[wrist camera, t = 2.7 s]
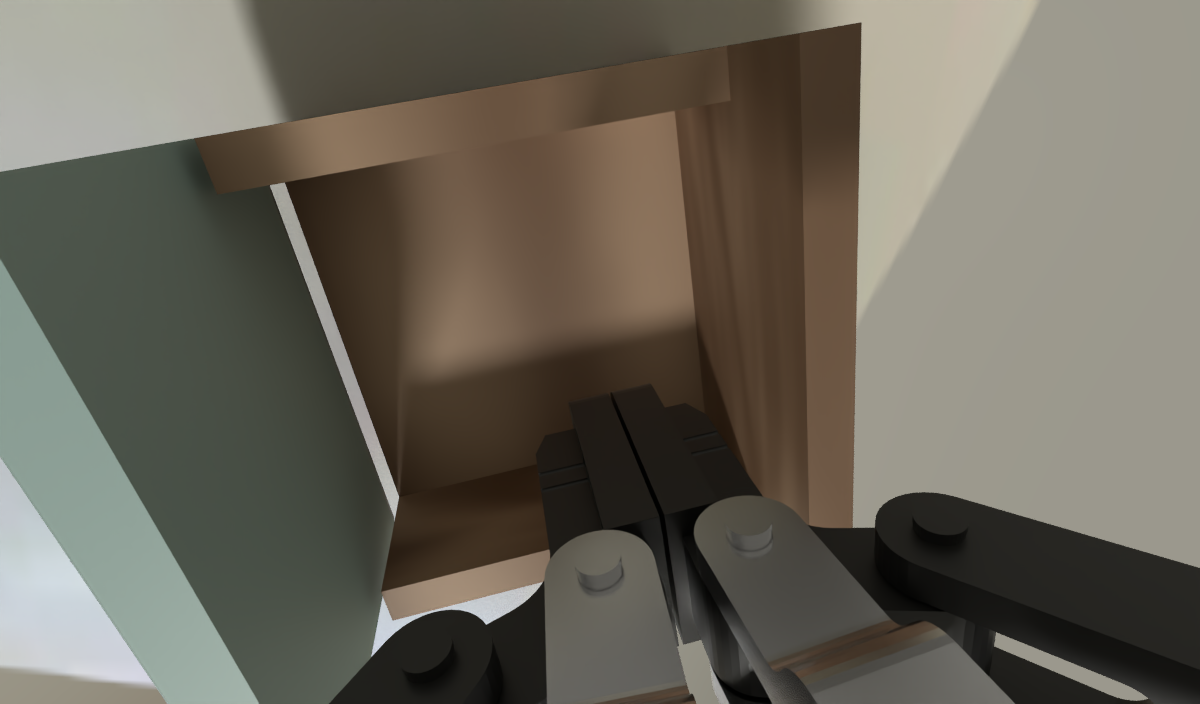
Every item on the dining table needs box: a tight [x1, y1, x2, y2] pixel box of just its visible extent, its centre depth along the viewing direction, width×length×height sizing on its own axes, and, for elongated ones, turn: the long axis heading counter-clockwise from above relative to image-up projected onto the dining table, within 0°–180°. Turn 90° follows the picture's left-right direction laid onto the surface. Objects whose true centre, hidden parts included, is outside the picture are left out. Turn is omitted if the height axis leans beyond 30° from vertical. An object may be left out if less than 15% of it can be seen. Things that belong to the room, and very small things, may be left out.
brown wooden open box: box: [194, 23, 861, 620], centre depth 16 cm, size 11×12×10 cm
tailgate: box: [0, 139, 394, 704], centre depth 13 cm, size 1×12×10 cm, turn 9°
